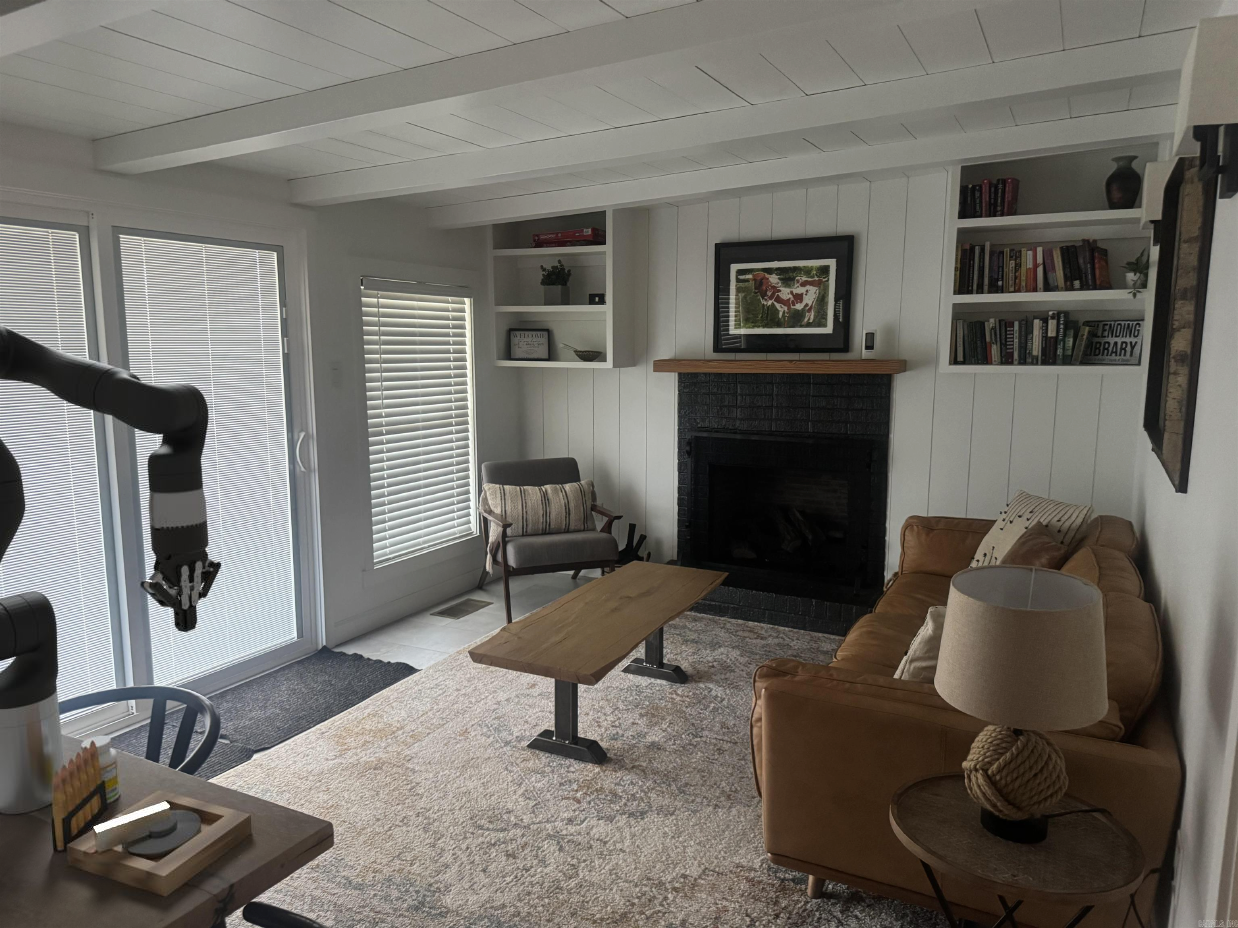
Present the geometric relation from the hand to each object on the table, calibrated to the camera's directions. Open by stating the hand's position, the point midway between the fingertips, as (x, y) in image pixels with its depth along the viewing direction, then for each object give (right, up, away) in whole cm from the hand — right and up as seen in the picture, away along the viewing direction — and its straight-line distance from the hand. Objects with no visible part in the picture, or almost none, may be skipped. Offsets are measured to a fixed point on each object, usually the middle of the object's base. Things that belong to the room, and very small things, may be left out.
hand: (186, 629), depth 124 cm
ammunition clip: (-15, -30, -2) cm, 33 cm away
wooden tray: (0, -30, -6) cm, 31 cm away
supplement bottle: (-17, -28, +6) cm, 34 cm away
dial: (-1, -29, -7) cm, 30 cm away
